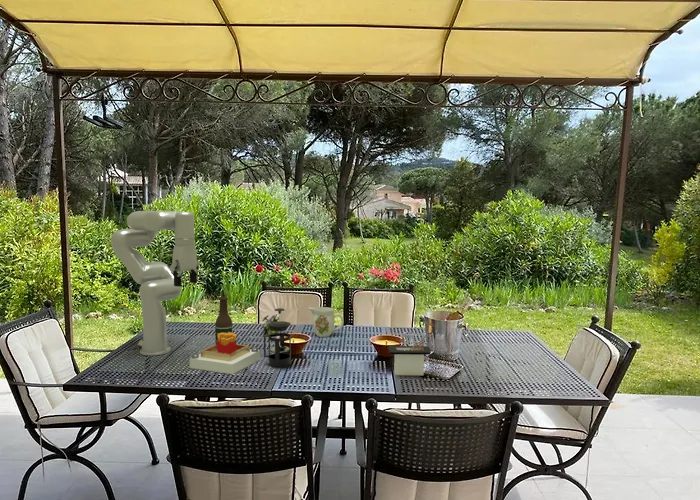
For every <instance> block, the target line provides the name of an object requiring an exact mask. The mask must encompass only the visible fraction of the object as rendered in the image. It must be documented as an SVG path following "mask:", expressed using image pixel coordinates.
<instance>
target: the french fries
mask: <svg viewBox="0 0 700 500" xmlns="http://www.w3.org/2000/svg"><path fill="white" fill-rule="evenodd" d="M237 335H238V334H236V333H234V332H233V331H232V332H231V333H230V332H228V333H224V332H223V333H220V334H219V333H218V334H217V336H218V340H216V341H217V351H218V352H219V353H226V354H230V353H233V352H235V351H236V344H237ZM216 341H215V342H216Z"/></svg>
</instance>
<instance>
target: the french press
mask: <svg viewBox="0 0 700 500" xmlns="http://www.w3.org/2000/svg"><path fill="white" fill-rule="evenodd" d="M284 311H285V308H275V309H274V312H277V315H278V316H279V320H278V321H276V322H271V323H269V324H268V325H269V326H270V330H271V331H278V332H277V333H273V334H272V333H271V334H270V335H268V334H265V335H264V336H263V356H264V358H268V363H267V364H268V366H269V367H271V368H275V369H277V368H278V369H281V368H287V367H290V366H291V365H292V361H291V360H292V359H291V358H292V350H291V349H292V347H291V346H292V345H291V344H292V343H291V342H292V340H291V339H292V337H291V334H290V333H287V332H285V331H286V330H287V329H288V328H289V326H291V325H292V323H291V322H289V321H285V320H282V321H281V313H282V312H284ZM280 331H281V333H280ZM277 337H279V338H277ZM267 338H268V354H267V352H266V351H267V346H266V345H267V342H266V339H267ZM287 341H288V342H289V345H288V346H285V342H287ZM271 342H274V346H272V347H271ZM271 353H272V354H271Z"/></svg>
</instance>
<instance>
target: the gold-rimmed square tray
mask: <svg viewBox="0 0 700 500" xmlns="http://www.w3.org/2000/svg"><path fill="white" fill-rule="evenodd" d="M260 360H261V350H259V347H252V348H251V347H250V345H246V344H239V343H236V351H235V352H233V353H230V354H226V353H219V352H218V351H217V344H216V343H215V344H214V345H211V346H209V347H206V348H204V349H202V350H200V353H199V354H198V353H194V354H191V357H189V368H190V369H194V370H200V371H206V372H207V371H208V372H215V373H221V374H226V375H227V374H228V375H235V374H236V373H239V372H240V371H242V370H243V369H246V368H248V367H249V366H251V365H252V364H254V363H257V362H259V361H260Z"/></svg>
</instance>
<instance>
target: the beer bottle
mask: <svg viewBox="0 0 700 500" xmlns="http://www.w3.org/2000/svg"><path fill="white" fill-rule="evenodd" d="M218 301H219V313H218V316H217V317H216V321H215V323H214V324H215V327H214V329H215V330H214V331H215V332H214V334H215V335H214V336H215V338H214V339H215V345H216V344H217V341H216V340H218V336H217V334H218V333H219V334H220V333H223V332H224V333H228V332H230V333H231V332H232V333H233V320H232V318H231V316H230V315H229V310H228V296H220V297H219V300H218Z"/></svg>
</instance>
